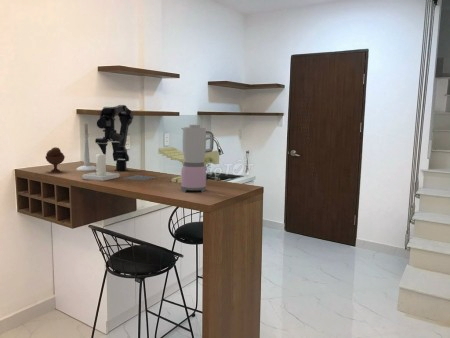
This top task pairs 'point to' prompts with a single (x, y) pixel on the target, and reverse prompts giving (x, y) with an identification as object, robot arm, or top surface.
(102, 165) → the rolled placemat
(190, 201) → the top surface
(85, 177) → the grey tray
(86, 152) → the candlestick
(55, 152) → the ice cream bowl
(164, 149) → the slatted curved stool
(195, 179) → the blender
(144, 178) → the rubber mat
